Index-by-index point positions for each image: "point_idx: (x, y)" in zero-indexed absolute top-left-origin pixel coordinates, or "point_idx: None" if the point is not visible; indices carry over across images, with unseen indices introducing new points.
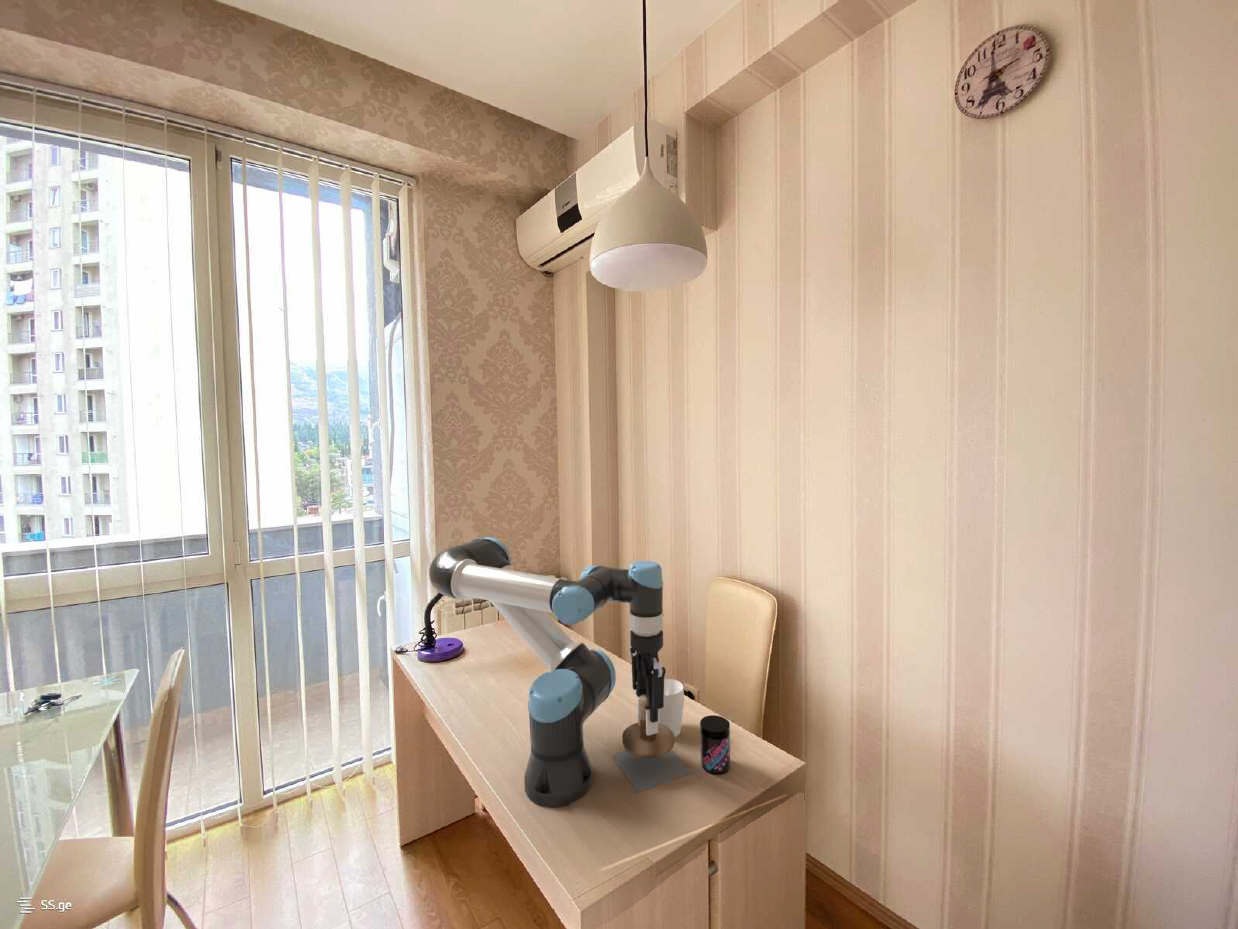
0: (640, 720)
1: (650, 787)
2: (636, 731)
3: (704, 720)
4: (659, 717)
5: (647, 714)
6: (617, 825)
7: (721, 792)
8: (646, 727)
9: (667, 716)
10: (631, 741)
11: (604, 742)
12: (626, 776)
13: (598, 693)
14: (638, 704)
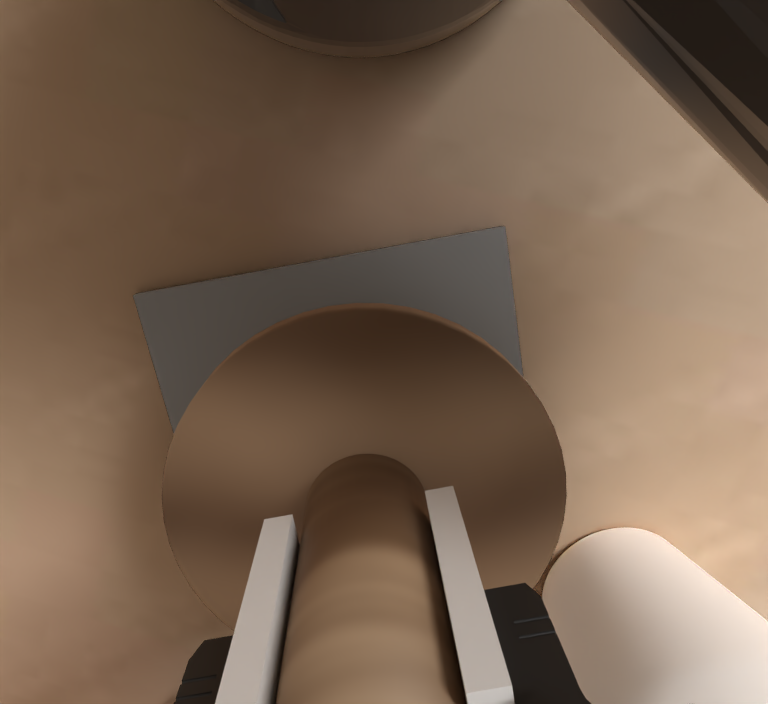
0: (366, 536)
1: (162, 379)
2: (452, 443)
3: None
4: (610, 629)
5: (227, 668)
6: None
7: (81, 679)
8: (277, 554)
9: (580, 685)
10: (336, 375)
11: (664, 214)
12: (284, 271)
13: (746, 48)
14: (468, 626)
